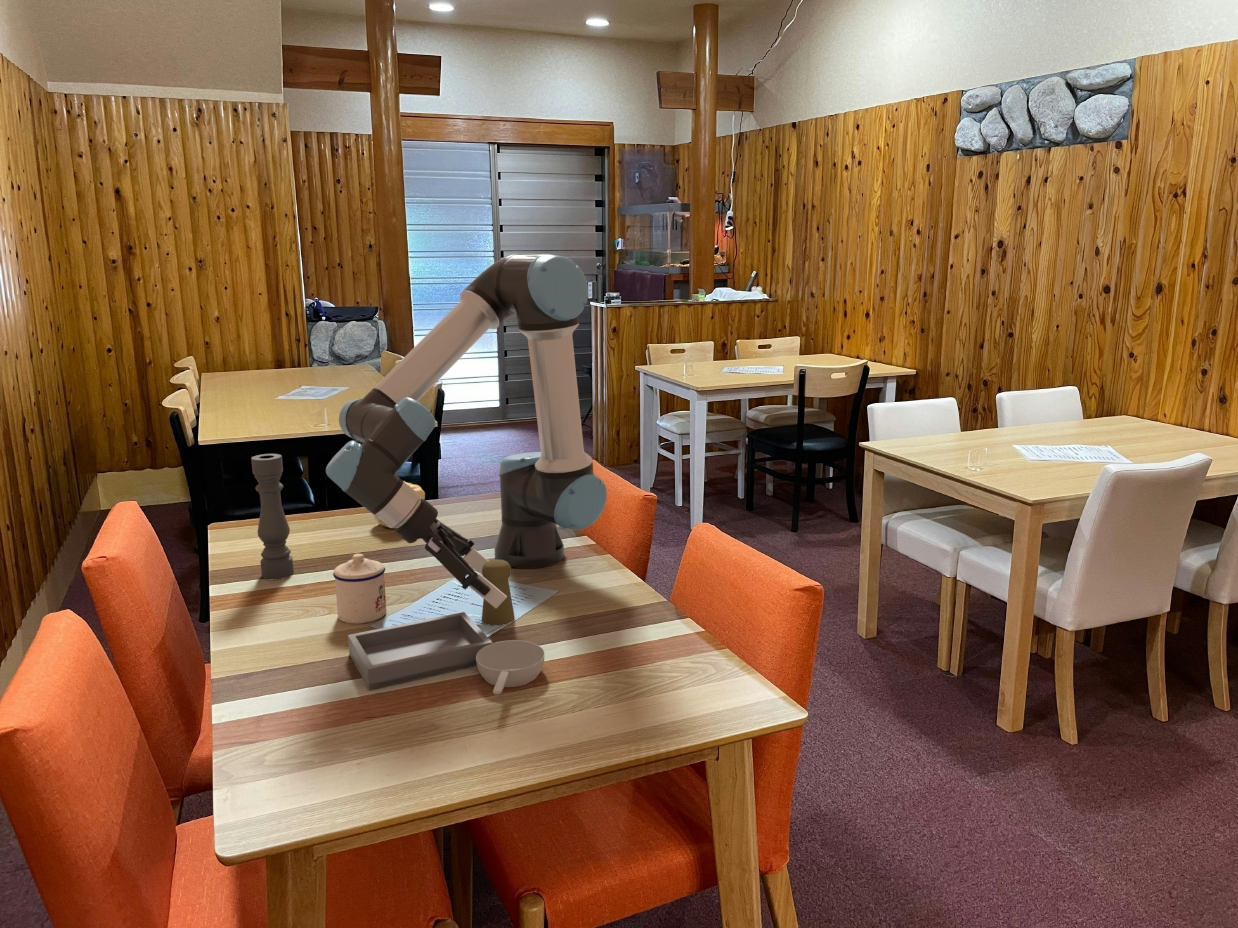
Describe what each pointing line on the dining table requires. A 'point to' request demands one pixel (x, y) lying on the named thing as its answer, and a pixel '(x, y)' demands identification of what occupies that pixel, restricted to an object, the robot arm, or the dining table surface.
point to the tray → (416, 649)
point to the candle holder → (272, 517)
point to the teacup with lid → (360, 590)
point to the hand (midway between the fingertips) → (497, 588)
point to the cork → (498, 576)
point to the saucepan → (510, 663)
